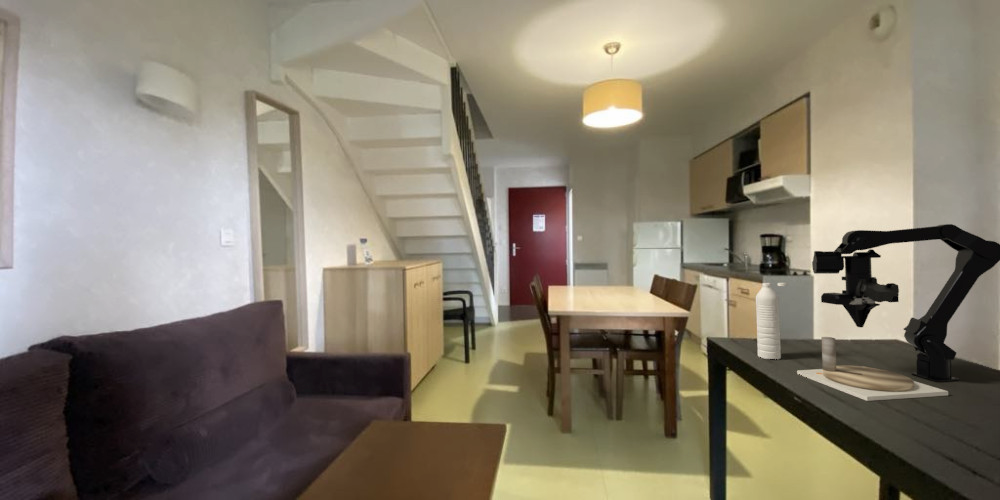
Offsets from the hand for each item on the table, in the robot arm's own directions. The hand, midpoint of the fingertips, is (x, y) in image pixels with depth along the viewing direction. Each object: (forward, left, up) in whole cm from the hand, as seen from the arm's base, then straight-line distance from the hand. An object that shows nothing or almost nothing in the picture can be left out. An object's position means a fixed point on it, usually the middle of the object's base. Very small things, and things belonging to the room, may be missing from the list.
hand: (860, 327), depth 117 cm
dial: (+8, +9, -12) cm, 17 cm away
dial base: (+8, +9, -13) cm, 18 cm away
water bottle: (+13, -18, -13) cm, 26 cm away
